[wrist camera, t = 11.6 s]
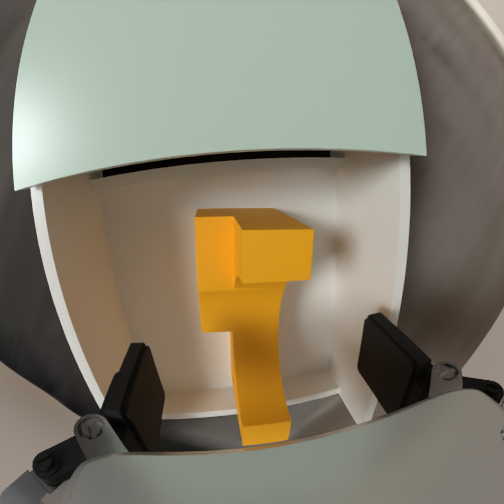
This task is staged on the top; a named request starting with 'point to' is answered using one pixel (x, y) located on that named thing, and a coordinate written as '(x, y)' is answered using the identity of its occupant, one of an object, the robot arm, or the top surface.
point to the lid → (210, 82)
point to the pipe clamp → (251, 303)
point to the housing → (185, 271)
